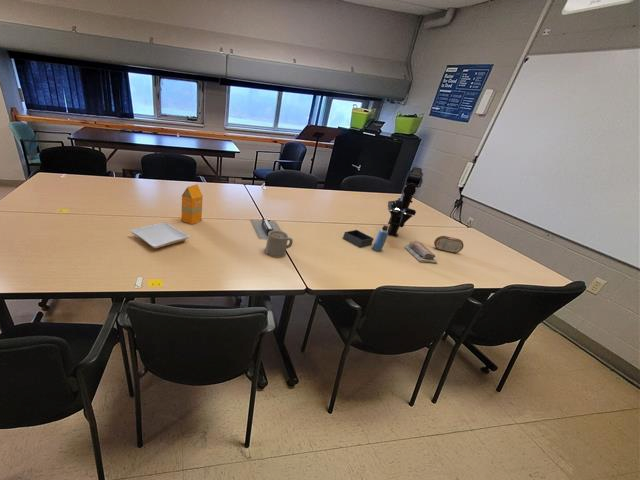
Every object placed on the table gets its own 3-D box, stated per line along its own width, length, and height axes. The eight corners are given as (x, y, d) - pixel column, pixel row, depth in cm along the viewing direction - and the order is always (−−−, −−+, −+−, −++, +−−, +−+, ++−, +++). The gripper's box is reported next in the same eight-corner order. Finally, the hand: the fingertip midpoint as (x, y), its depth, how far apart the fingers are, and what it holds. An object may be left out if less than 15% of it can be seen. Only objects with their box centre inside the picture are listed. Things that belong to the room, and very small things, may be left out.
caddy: (354, 235, 191) (356, 229, 189) (371, 244, 182) (373, 238, 180) (342, 238, 185) (344, 231, 183) (359, 247, 177) (362, 240, 175)
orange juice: (201, 220, 184) (203, 186, 173) (191, 224, 177) (192, 188, 166) (191, 216, 187) (192, 182, 176) (181, 220, 180) (181, 185, 169)
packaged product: (407, 239, 182) (423, 241, 183) (404, 247, 185) (420, 248, 185) (423, 254, 167) (441, 255, 168) (419, 262, 169) (436, 263, 170)
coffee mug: (267, 256, 154) (270, 238, 149) (263, 247, 162) (266, 229, 157) (293, 258, 156) (297, 239, 151) (288, 249, 165) (292, 231, 159)
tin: (458, 252, 187) (465, 240, 182) (459, 255, 184) (467, 242, 180) (431, 246, 190) (437, 233, 186) (432, 248, 188) (438, 235, 183)
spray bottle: (373, 246, 180) (382, 223, 172) (382, 249, 178) (391, 226, 170) (371, 249, 177) (380, 226, 169) (380, 252, 174) (389, 228, 167)
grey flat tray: (259, 238, 172) (260, 231, 170) (251, 220, 192) (252, 213, 190) (285, 239, 175) (286, 232, 172) (274, 221, 195) (275, 215, 193)
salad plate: (190, 241, 158) (190, 235, 157) (154, 252, 145) (154, 246, 143) (165, 227, 170) (165, 221, 168) (129, 236, 156) (129, 229, 154)
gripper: (384, 193, 183) (374, 219, 187) (402, 195, 165) (391, 224, 170) (402, 197, 184) (391, 223, 189) (421, 200, 167) (409, 229, 171)
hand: (395, 225), depth 180 cm, fingers open, 9 cm apart
